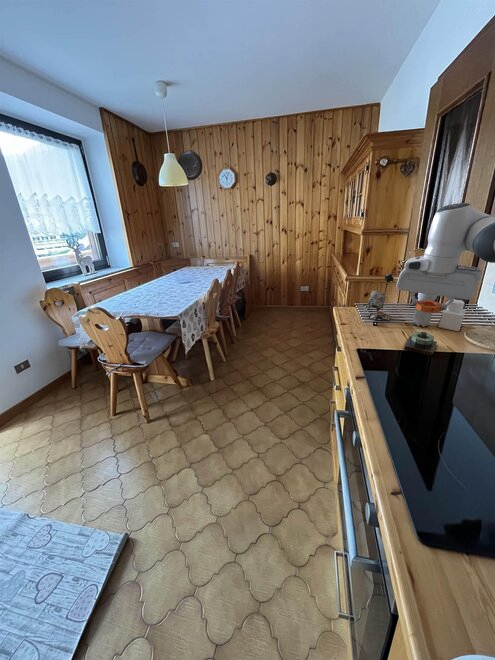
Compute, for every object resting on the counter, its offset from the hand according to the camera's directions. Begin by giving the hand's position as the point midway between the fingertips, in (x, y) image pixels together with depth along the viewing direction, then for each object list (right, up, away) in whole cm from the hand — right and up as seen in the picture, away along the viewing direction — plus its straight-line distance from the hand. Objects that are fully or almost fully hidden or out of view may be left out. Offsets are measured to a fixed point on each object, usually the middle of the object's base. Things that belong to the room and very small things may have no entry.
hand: (428, 307), depth 89 cm
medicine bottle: (+26, -6, +27) cm, 38 cm away
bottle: (+16, -5, +30) cm, 34 cm away
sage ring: (+6, -11, +13) cm, 18 cm away
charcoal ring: (+6, -12, +14) cm, 19 cm away
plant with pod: (+2, -2, +39) cm, 39 cm away
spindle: (+6, -14, +14) cm, 21 cm away
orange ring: (0, -1, 0) cm, 0 cm away
